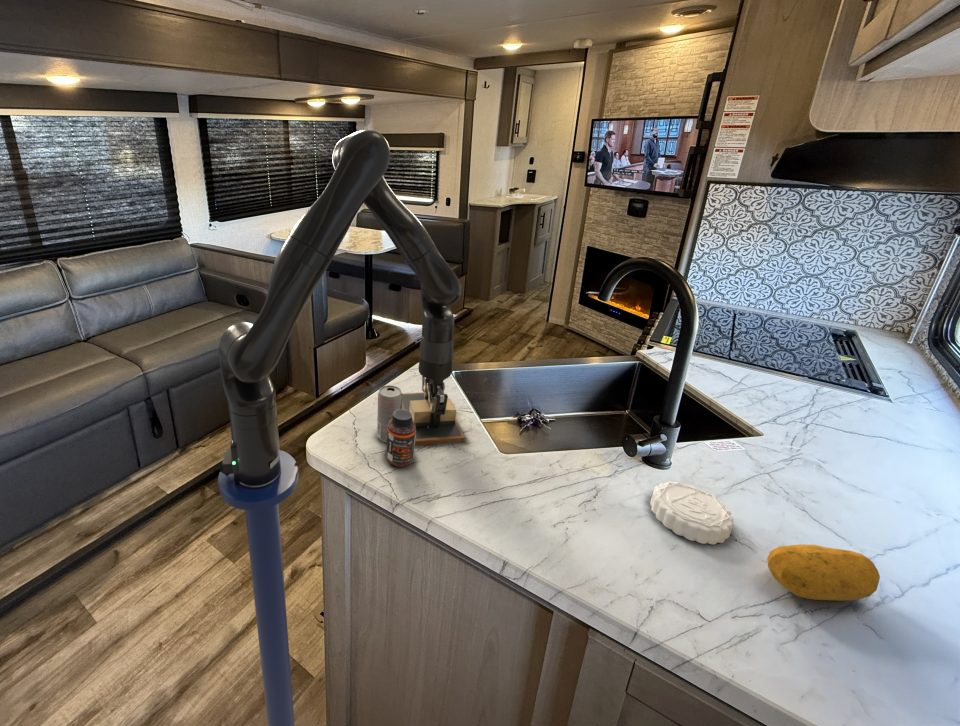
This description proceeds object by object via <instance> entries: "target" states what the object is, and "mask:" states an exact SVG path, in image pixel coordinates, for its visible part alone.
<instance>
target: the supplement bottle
mask: <svg viewBox="0 0 960 726" xmlns="http://www.w3.org/2000/svg"><path fill="white" fill-rule="evenodd" d="M415 433H416V426H415V423H414V422H413V421H412V414H411V412H409V411H408V410H405V409H398V410H395V411H394V412H393V417H392V419H391V420H390V421H389V422H388V426H387V443H386V449H385V458H386V461H387V462H388V463H389V464H391V465H392V466H395V467H399V468H401V467H402V468H403V467H408V466H410V465H411V464H412V463H413V462H414V458H415V457H414V456H415V448H416V446H415Z"/></svg>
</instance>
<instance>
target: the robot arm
mask: <svg viewBox="0 0 960 726" xmlns="http://www.w3.org/2000/svg"><path fill="white" fill-rule="evenodd" d="M331 159H332V166H333V168H334V172H333V174H332V176H331V178H330V180H329V181H328V184H327V185H326V187H325V188H324V190H323V192H322V193H321V194H320V196H319V197H318V198H317V199H316V200H315V201H314V202H313V203H312V205H311V206H310V207H309V208H308V209H307V210H306V211H305V212H304V213H303V215H302V216H301V217H300V219H298V220H297V222H296V223H295V225H294V226H293V228H292V229H291V231H289V233H288V236H287V237H286V239H285V241H284V243H283V245H282V246H281V248H280V250H279V251H278V253H277V255H276V258H275V259H274V262H273V266H272V270H271V274H270V279H269V284H268V289H267V295H266V297H265V302H264V304H263V306H262V307H261V310H260V312H259V314H258V315H257V317H256V318H255V321H254V322H253V323H252V322H246V321H244V322H236V323H234V324H232V325H230V326H229V327H228V328H226V329H225V330H224V332H223V333H222V335H221V337H220V340H219V343H218V358H219V366H220V374H221V379H222V381H221V382H222V387H223V391H224V394H225V397H226V400H227V408H228V417H229V424H230V433H231V442H230V446H229V447H230V448H229V449H225V452H224V456H223V460H222V461H221V462H220V464H219V466H218V470H219V471H221V472H222V473H223V474H225V475H226V476H228V475H229V474H232V473H233V475H234V484H235V485H241V486H243V487H245V488H249V489H259V488H264V487H267V486H269V485H271V484H272V483H274V482H275V481H276V480H277V479H278V478H279V476H280V474H281V462H280V451H279V450H280V437H279V423H278V409H277V396H276V395H277V394H276V388H275V385H274V383H273V381H272V379H271V376H270V375H271V373H272V372H273V371H274V370H275V369H276V367H277V365H278V363H279V361H280V359H281V357H282V355H283V352H284V350H285V348H286V347H287V343H288V341H289V339H290V337H291V334H292V332H293V330H294V328H295V326H296V323H297V322H298V320H299V318H300V316H301V314H302V313H303V311H304V309H305V308H306V306H307V304H308V302H309V300H310V298H311V297H312V295H313V293H314V291H315V290H316V288H317V286H318V284H319V283H320V282H321V280H322V278H323V277H324V275H325V273H326V271H327V269H328V267H329V266H330V264H331V263H332V261H333V259H334V257H335V256H336V253H337V252H338V249H339V247H340V245H341V244H342V242H343V240H344V238H345V237H346V235H347V233H348V231H349V229H350V228H351V225H352V223H353V222H354V219H355V218H356V216H357V214H358V212H359V210H360V209H361V207H362V206H363V204H364V205H365V206H366V208H367V209H368V210H369V211H370V213H371V214H372V215H373V216H374V218H375V219H376V220H377V222H378V223H379V225H380V226H381V227H382V229H383V231H384V232H385V233H386V234H387V236H388V238H389V239H390V240H391V243H392V244H393V245H394V247H395V248H396V250H397V252H398V254H400V256H401V258H402V259H403V260H404V262H405V263H406V265H407V266H408V267H409V268H410V269H411V271H413V273H414V274H415V275H416V276H417V278H418V281H419V282H420V300H421V309H422V321H421V322H422V323H421V337H420V343H419V357H418V373H419V375H420V376H421V391H422V393H424V398H425V400H428V401H429V402H430V403H431V417H430V424H431V426H439V425H440V417H441V415H445V410H446V405H447V400H448V398H449V396H448V393H445V390H446V384H445V382H444V381H445V380H447V379H448V378H450V377H451V376H452V372H453V361H454V349H455V347H454V346H455V344H454V333H455V316H454V314H453V311H452V307H451V306H452V305H454V304H456V303H457V302H458V301H459V299H460V297H461V294H462V284H461V282H460V279H459V278H458V276H457V274H456V273H455V272H454V270H453V269H452V267H451V266H450V264H449V263H448V262H447V261H446V260H445V258H444V257H443V256H442V255H441V253H440V252H439V250H438V248H437V246H436V244H435V242H434V241H433V239H432V237H431V235H430V234H429V232H428V231H427V229H426V227H425V226H424V224H422V222H421V220H420V219H419V218H418V217H417V216H416V215H415V214H414V213H413V212H412V210H411V209H410V208H408V206H407V205H406V204H404V202H402V201H401V199H400V198H399V197H398V196H397V195H396V194H395V193H394V191H393V190H392V188H391V187H390V186H389V184H388V183H387V180H386V179H385V177H384V175H385V174H386V172H387V171H388V168H389V164H390V161H391V148H390V145H389V142H388V141H387V139H386V137H385V136H384V135H383V134H381V133H380V132H379V131H376V130H372V129H364V130H363V129H362V130H359V131H355V132H353V133H351V134H349V135H347V136H345V137H343V138H342V139H340V140H339V141H338V142H337V143H336V144H335V146H334V149H333V151H332V157H331ZM433 397H435V399H434V398H433Z"/></svg>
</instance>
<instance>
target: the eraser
mask: <svg viewBox="0 0 960 726" xmlns="http://www.w3.org/2000/svg"><path fill="white" fill-rule="evenodd" d="M409 412H411V414H412V421H413V422H414V423H415V426H416V427H418V426H431V424H430V417H431V403H430V402H429V401H428V400H413V401H410V410H409ZM456 418H457V408H456V406H455V404H454V403H453V401H452V399H451V398H450V397H448V400H447V405H446V410H445V415H441V417H440V425H447V424H455V420H457V419H456Z"/></svg>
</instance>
